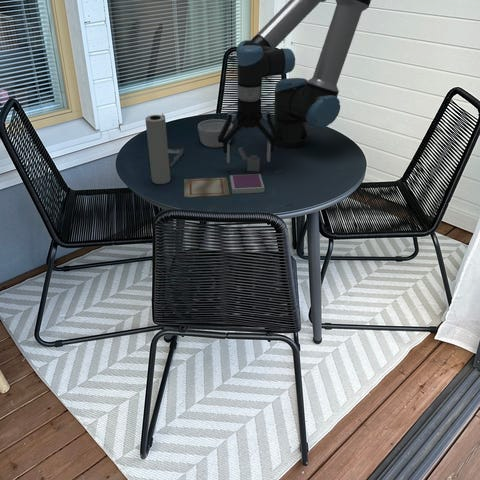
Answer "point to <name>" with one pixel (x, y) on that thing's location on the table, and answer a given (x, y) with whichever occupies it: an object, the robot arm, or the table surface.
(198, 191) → the marked board
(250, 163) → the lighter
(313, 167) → the table surface
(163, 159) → the paper towel roll
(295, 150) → the table surface
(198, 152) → the table surface
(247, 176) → the ink pad
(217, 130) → the ramekin
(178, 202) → the table surface
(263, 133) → the robot arm
